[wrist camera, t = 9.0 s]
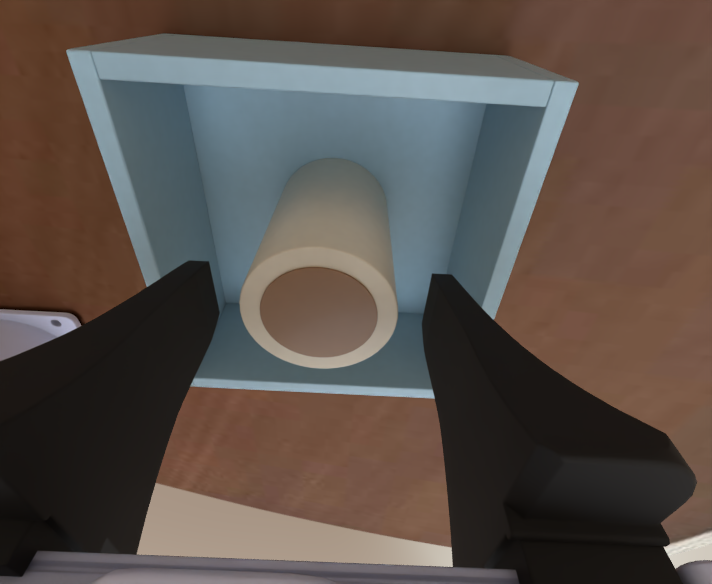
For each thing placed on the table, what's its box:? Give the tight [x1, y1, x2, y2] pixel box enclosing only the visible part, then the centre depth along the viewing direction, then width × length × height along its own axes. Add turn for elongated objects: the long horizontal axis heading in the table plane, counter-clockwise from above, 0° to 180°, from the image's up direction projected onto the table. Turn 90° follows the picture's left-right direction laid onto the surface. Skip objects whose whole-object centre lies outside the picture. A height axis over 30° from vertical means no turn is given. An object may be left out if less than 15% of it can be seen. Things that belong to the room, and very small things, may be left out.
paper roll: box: [239, 158, 398, 369], centre depth 14 cm, size 5×5×7 cm
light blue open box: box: [67, 33, 579, 398], centre depth 15 cm, size 12×12×6 cm
